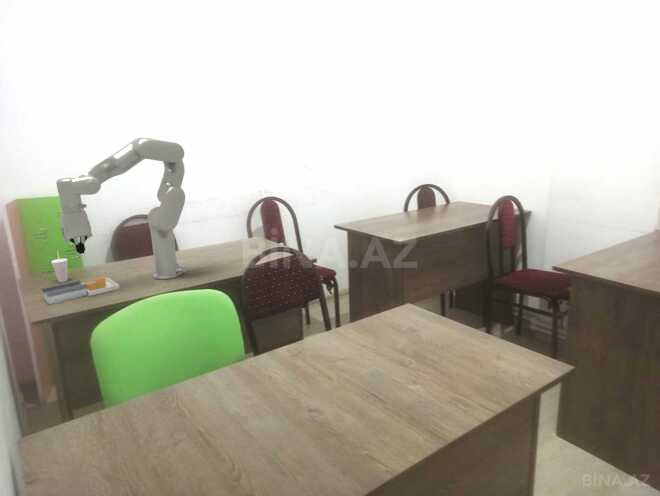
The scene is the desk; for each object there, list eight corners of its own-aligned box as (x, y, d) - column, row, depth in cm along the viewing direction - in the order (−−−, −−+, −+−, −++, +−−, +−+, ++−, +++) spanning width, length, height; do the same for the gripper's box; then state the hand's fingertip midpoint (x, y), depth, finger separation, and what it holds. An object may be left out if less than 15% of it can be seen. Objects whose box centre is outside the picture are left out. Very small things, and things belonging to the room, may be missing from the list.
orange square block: (96, 287, 205) (103, 285, 206) (99, 289, 202) (106, 287, 204) (94, 278, 204) (102, 276, 205) (97, 280, 201) (105, 278, 203)
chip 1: (96, 287, 205) (94, 280, 204) (98, 289, 202) (97, 282, 201) (86, 289, 202) (84, 282, 201) (88, 291, 199) (87, 284, 199)
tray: (108, 281, 213) (108, 277, 212) (119, 289, 203) (119, 284, 202) (79, 288, 205) (78, 284, 205) (89, 296, 195) (88, 291, 194)
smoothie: (54, 284, 212) (49, 253, 209) (55, 280, 218) (49, 250, 214) (71, 281, 215) (65, 251, 212) (71, 277, 221) (65, 248, 217)
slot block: (80, 289, 204) (78, 279, 202) (87, 295, 196) (85, 285, 195) (43, 298, 195) (41, 287, 193) (49, 304, 187) (47, 293, 186)
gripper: (89, 205, 199) (97, 247, 204) (49, 211, 190) (59, 255, 195) (95, 207, 194) (103, 250, 199) (54, 213, 184) (63, 259, 189)
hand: (81, 252), depth 197 cm, fingers closed
